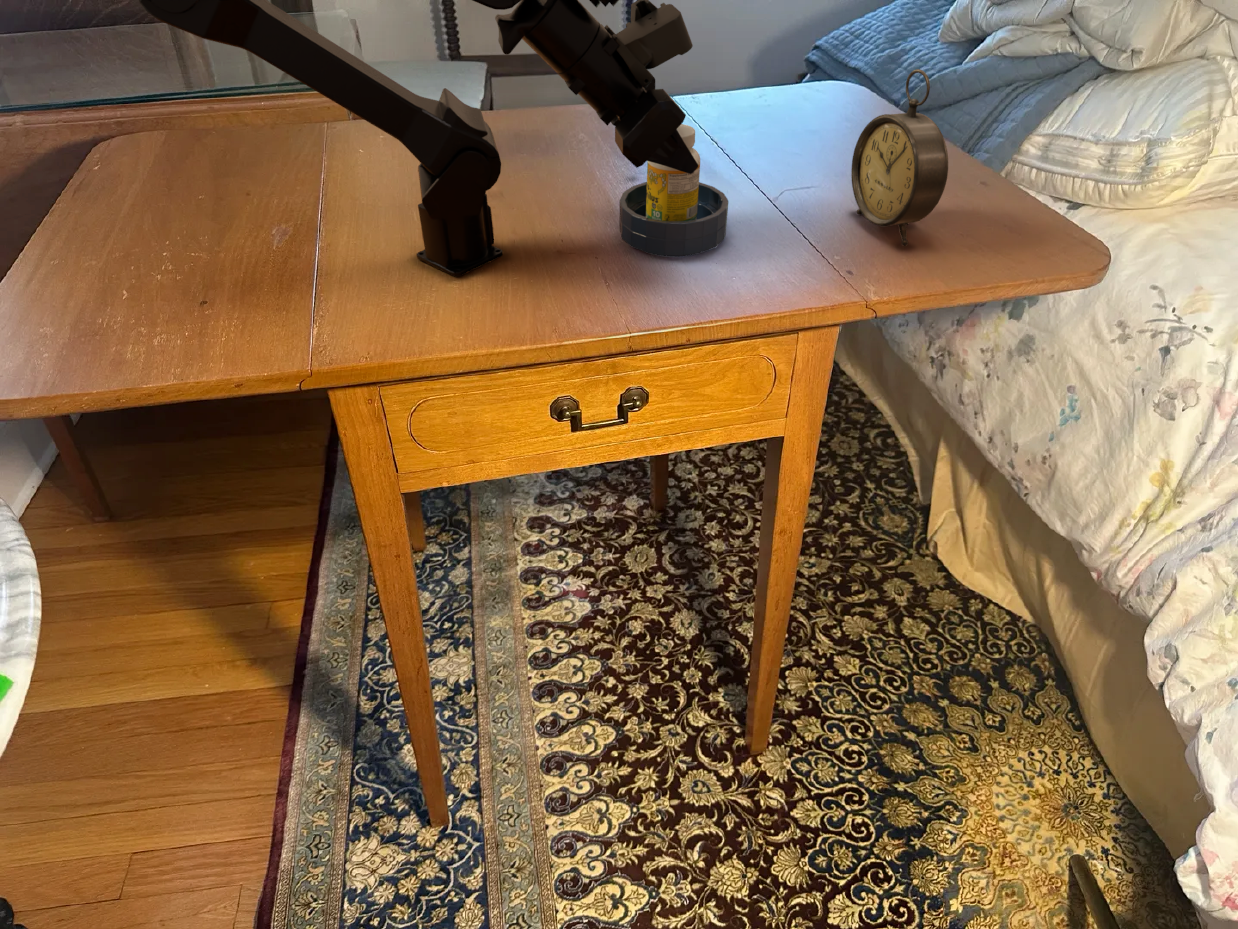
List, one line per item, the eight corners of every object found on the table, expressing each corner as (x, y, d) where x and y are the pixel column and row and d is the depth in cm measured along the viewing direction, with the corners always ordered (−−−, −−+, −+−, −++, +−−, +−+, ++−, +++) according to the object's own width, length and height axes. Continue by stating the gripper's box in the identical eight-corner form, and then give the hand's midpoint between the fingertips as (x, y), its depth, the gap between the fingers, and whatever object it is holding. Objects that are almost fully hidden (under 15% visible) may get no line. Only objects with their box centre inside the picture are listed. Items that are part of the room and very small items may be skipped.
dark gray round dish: (681, 271, 86) (683, 233, 84) (598, 238, 92) (597, 202, 89) (746, 233, 93) (749, 198, 90) (664, 205, 98) (665, 170, 96)
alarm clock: (840, 212, 97) (866, 57, 86) (881, 204, 98) (911, 52, 88) (896, 253, 89) (933, 89, 78) (940, 245, 90) (982, 83, 80)
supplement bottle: (702, 230, 90) (708, 137, 83) (651, 234, 89) (655, 141, 83) (688, 209, 94) (694, 118, 87) (640, 213, 93) (642, 122, 87)
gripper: (666, -2, 69) (780, 129, 78) (617, -46, 82) (718, 69, 91) (571, 106, 72) (690, 220, 81) (539, 46, 86) (643, 149, 95)
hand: (687, 159), depth 87 cm, fingers closed on supplement bottle, 5 cm apart
